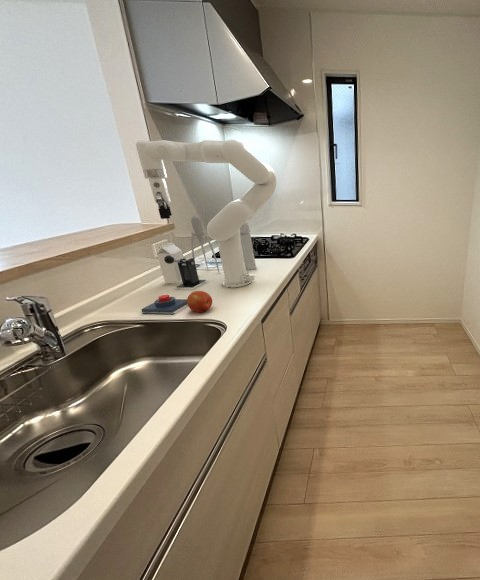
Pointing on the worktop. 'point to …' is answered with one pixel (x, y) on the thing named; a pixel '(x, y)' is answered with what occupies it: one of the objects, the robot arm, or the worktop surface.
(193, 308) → the apple
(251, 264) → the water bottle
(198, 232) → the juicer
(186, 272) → the bracket
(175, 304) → the button box
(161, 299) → the button
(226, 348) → the worktop surface
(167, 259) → the lever
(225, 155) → the robot arm
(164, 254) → the milk carton
